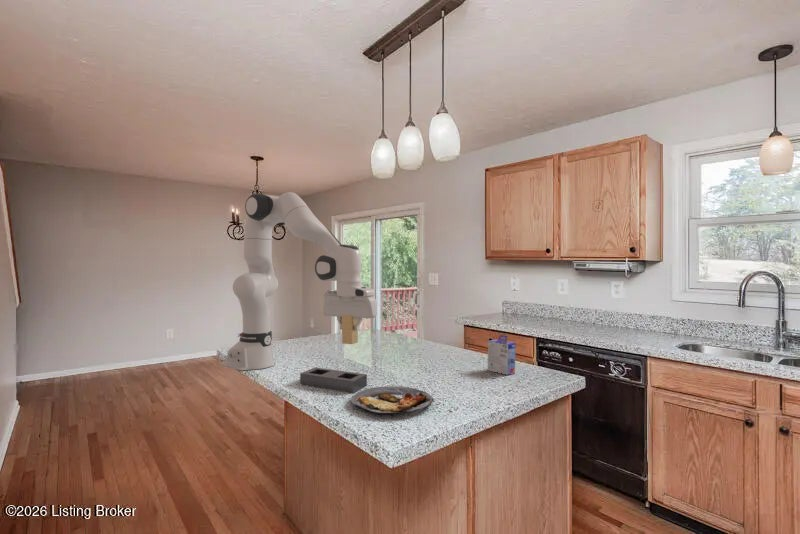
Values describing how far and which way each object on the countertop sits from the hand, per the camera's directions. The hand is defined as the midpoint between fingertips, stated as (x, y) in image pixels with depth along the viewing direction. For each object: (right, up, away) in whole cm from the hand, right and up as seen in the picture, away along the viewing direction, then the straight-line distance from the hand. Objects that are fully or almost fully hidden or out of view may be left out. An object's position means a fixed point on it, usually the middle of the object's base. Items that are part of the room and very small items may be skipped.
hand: (349, 329), depth 143 cm
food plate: (+15, -21, -18) cm, 31 cm away
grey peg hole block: (-6, -20, +1) cm, 21 cm away
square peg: (0, -5, 0) cm, 5 cm away
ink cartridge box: (+58, -20, +19) cm, 64 cm away
